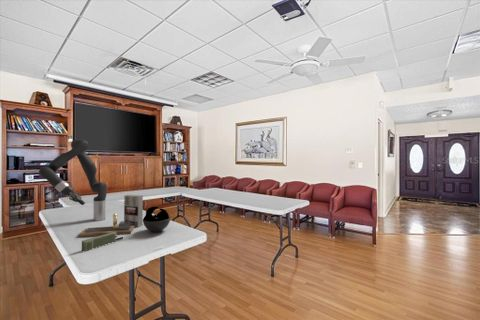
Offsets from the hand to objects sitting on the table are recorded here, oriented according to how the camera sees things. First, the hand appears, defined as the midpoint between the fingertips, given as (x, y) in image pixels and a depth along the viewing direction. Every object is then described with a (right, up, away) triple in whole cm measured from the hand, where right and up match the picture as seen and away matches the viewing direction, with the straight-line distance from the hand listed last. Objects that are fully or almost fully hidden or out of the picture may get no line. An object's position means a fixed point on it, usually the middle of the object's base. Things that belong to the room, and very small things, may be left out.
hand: (83, 204), depth 172 cm
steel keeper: (+29, -19, +3) cm, 35 cm away
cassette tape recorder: (+29, -21, +18) cm, 40 cm away
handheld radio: (+29, -22, -24) cm, 44 cm away
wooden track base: (+18, -21, 0) cm, 28 cm away
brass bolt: (+25, -19, +2) cm, 32 cm away
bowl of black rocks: (+53, -22, +5) cm, 58 cm away
